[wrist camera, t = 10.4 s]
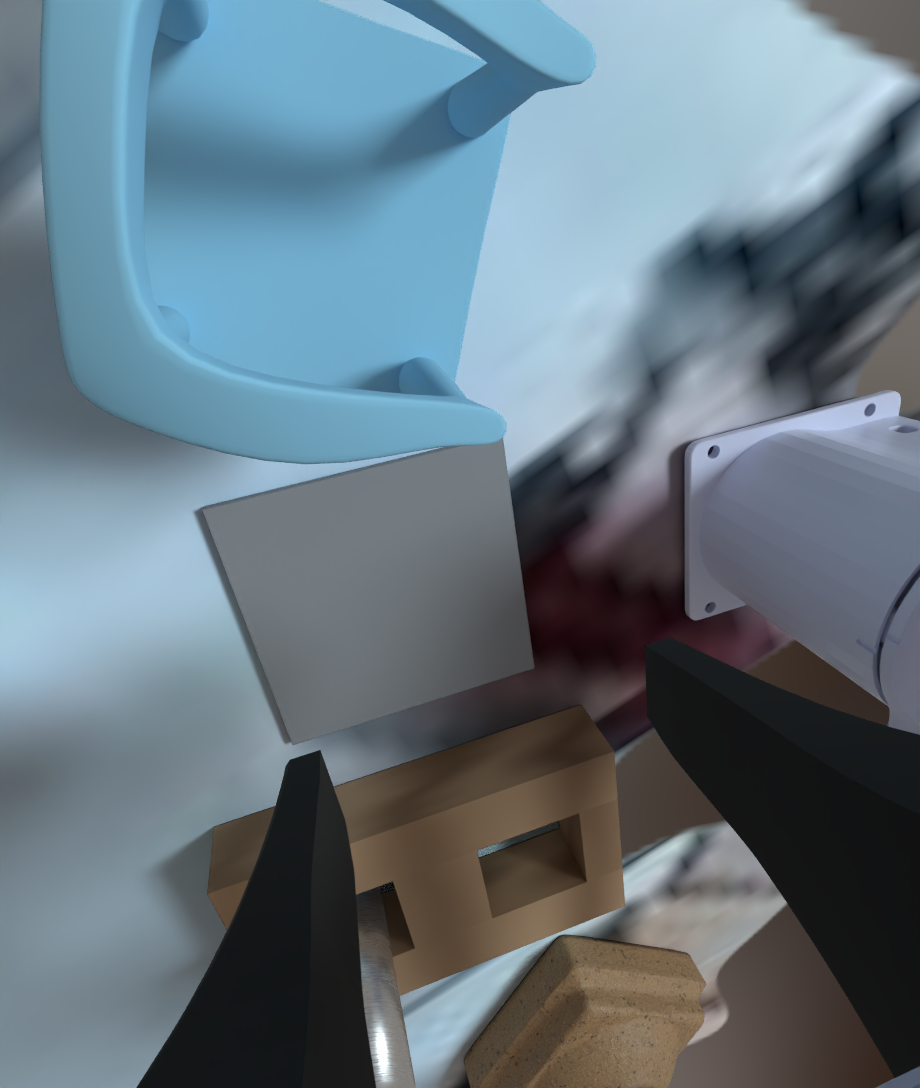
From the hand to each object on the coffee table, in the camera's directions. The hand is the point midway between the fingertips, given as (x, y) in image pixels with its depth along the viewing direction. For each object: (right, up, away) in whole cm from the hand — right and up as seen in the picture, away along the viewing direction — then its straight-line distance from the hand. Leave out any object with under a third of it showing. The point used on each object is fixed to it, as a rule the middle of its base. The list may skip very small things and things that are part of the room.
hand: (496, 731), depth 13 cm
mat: (-3, +2, +10) cm, 10 cm away
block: (-2, -10, +15) cm, 18 cm away
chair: (-5, +13, +4) cm, 14 cm away
